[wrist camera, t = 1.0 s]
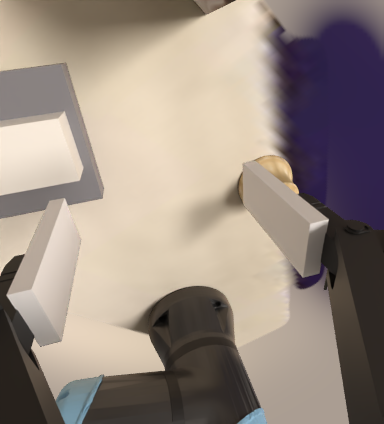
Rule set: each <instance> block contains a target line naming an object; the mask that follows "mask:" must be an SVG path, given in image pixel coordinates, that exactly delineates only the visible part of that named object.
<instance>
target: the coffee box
mask: <svg viewBox="0 0 384 424" xmlns="http://www.w3.org/2000/svg"><path fill="white" fill-rule="evenodd" d="M194 1H195V3H196V4H197V5H198V6H199V7H200V8H201V9H202V11H203V12H204V13H205V14H209V13H211V12H213V11H215V10H217V9H219V8H221V7H223V6H225V5H227V4H229V3H231V2H233V1H235V0H194Z"/></svg>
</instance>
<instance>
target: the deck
mask: <svg viewBox="0 0 384 424" xmlns="http://www.w3.org/2000/svg"><path fill="white" fill-rule="evenodd" d="M63 111H65V114H66V117H67V120H68V123H69V126H70V129H71V132H72V135H73V138H74V141H75V144H76V147H77V150H78V153H79V156H80V159H81V162H82V165H83V171H82V175H81V178H80V181H76V182H70V183H65V184H59V185H54V186H49V187H43V188H38V189H33V190H27V191H22V192H17V193H11V194H6V195H0V219H1V218H6V217H11V216H16V215H21V214H26V213H32V212H37V211H42V210H45V209H46V207H47V205H48V203H49V201H51V200H56V199H61V198H65V200H66V202H67V205H72V204H77V203H82V202H87V201H92V200H97V199H102V198H103V191H104V187H103V184H102V180H101V177H100V174H99V170H98V167H97V164H96V160H95V157H94V154H93V151H92V147H91V144H90V141H89V137H88V134H87V131H86V127H85V124H84V121H83V117H82V114H81V111H80V107H79V104H78V101H77V98H76V94H75V91H74V88H73V84H72V81H71V78H70V74H69V71H68V68H67V64H66V63H62V64H54V65H46V66H38V67H31V68H23V69H15V70H7V71H0V121H3V120H10V119H17V118H23V117H30V116H36V115H43V114H50V113H56V112H63Z"/></svg>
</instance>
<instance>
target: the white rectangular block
mask: <svg viewBox="0 0 384 424" xmlns="http://www.w3.org/2000/svg"><path fill="white" fill-rule="evenodd" d="M82 171H83V165H82V162H81V159H80V156H79V153H78V150H77V147H76V144H75V141H74V138H73V135H72V132H71V129H70V126H69V123H68V120H67V117H66V114H65V111H63V112H56V113H50V114H43V115H36V116H30V117H23V118H17V119H10V120H3V121H0V195H6V194H11V193H17V192H22V191H27V190H33V189H38V188H43V187H49V186H54V185H59V184H65V183H70V182H76V181H80V178H81V175H82Z"/></svg>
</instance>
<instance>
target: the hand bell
mask: <svg viewBox="0 0 384 424" xmlns="http://www.w3.org/2000/svg"><path fill="white" fill-rule="evenodd" d="M255 161H256V162H258V163H259V164H260V165H261V166H263V167H264V168H265V169H266V170H268V171H269V172H270V173H271V174H273V175H274V176H275V177H276V178H278V179H279V180H280V181H281V182H283V183H284V184H285V185H286V186H288V187H289V188H290V189H291V190H293V191H294V192H295V193H296V194H299V191H298V188H297V187H296V185H295V184H294V183H293V182H292V171H291V168H290V166H289V164H288V163H287V161H286V160H284V159H283V158H281V157H279V156H273V155H270V156H264V157H261V158H258V159H257V160H255ZM238 188H239V195H240V198H241V200H242V201H243V174H242V175H241V178H240V181H239V187H238Z"/></svg>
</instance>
